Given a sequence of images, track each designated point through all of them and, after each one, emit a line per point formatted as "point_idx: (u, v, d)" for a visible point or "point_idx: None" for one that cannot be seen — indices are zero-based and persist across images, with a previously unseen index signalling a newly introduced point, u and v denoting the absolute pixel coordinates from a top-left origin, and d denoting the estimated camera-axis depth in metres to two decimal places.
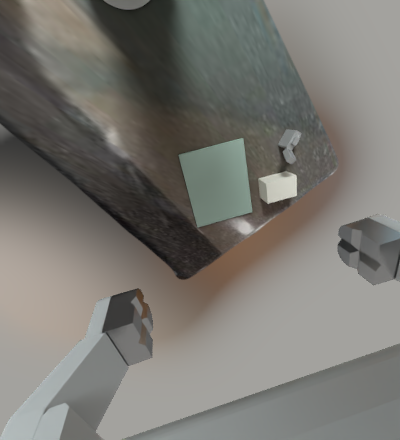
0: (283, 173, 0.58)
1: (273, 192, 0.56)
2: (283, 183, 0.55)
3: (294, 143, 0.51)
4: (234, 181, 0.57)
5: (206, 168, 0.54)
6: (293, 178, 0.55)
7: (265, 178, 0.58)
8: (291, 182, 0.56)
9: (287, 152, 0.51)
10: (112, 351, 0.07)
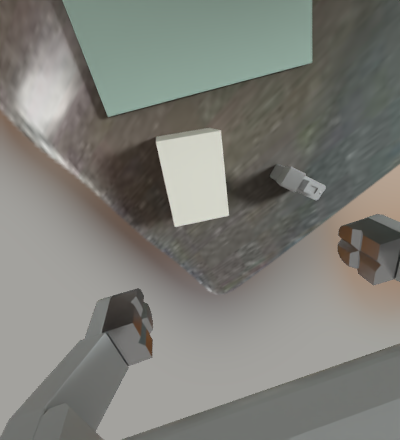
0: None
1: (191, 156, 0.19)
2: (213, 184, 0.20)
3: (308, 186, 0.22)
4: (204, 38, 0.19)
5: None
6: (222, 209, 0.22)
7: None
8: (212, 206, 0.21)
9: None
10: (112, 351, 0.07)
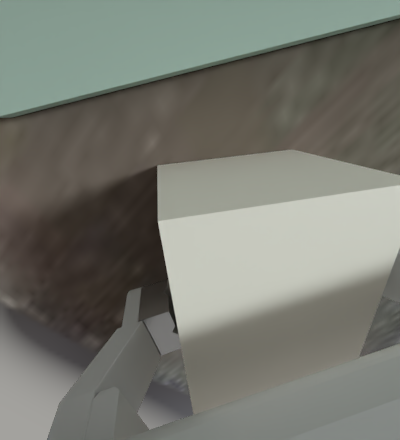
0: None
1: (292, 269, 0.05)
2: (332, 336, 0.06)
3: None
4: None
5: None
6: None
7: None
8: None
9: None
10: (148, 339, 0.07)
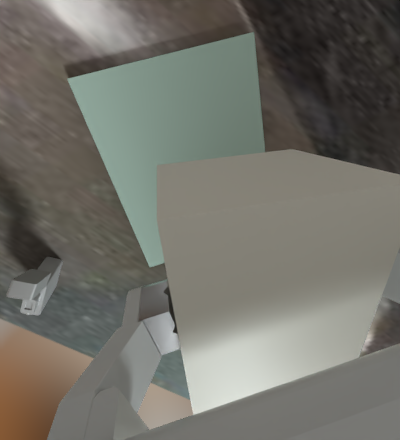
0: None
1: (292, 269, 0.05)
2: (332, 336, 0.06)
3: (30, 301, 0.21)
4: (153, 183, 0.23)
5: None
6: None
7: None
8: None
9: (41, 288, 0.20)
10: (148, 339, 0.07)
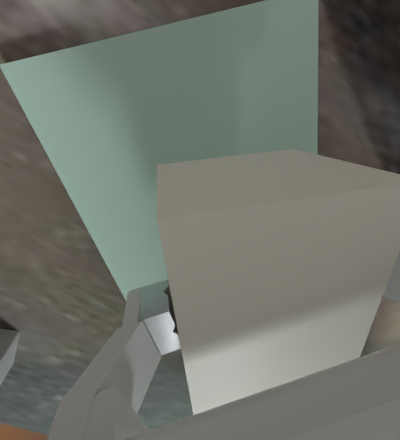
0: None
1: (293, 269, 0.05)
2: (334, 337, 0.06)
3: None
4: (149, 227, 0.15)
5: None
6: None
7: None
8: None
9: None
10: (148, 340, 0.07)
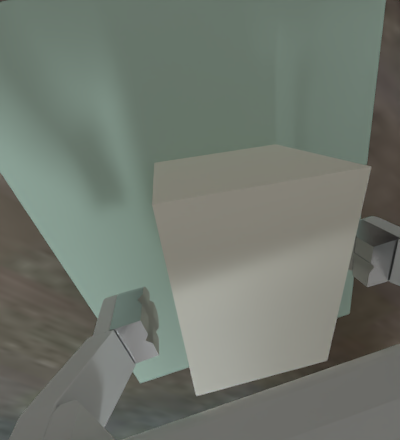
0: None
1: (266, 243, 0.06)
2: (309, 305, 0.07)
3: None
4: (144, 257, 0.11)
5: None
6: (316, 351, 0.09)
7: None
8: (296, 348, 0.08)
9: None
10: (120, 348, 0.07)
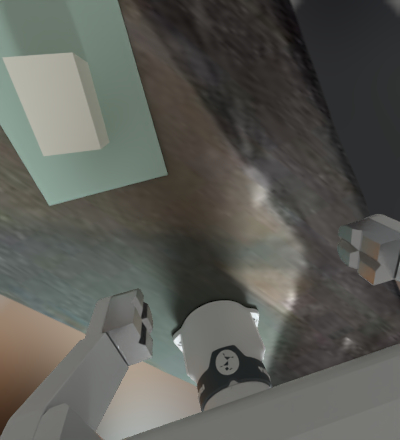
0: (104, 130, 0.25)
1: (46, 78, 0.19)
2: (76, 112, 0.21)
3: None
4: None
5: (111, 150, 0.27)
6: (92, 141, 0.22)
7: (88, 77, 0.23)
8: (81, 136, 0.22)
9: None
10: (112, 351, 0.07)
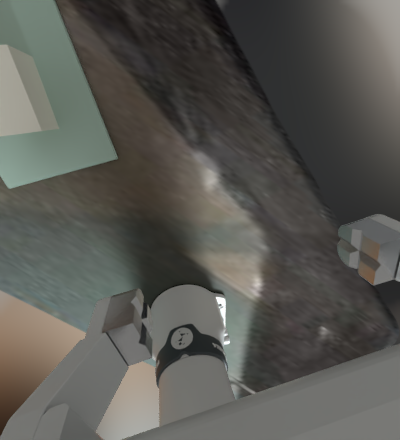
0: (51, 117, 0.28)
1: None
2: (16, 97, 0.24)
3: None
4: None
5: (62, 135, 0.30)
6: (33, 123, 0.25)
7: (31, 69, 0.26)
8: (22, 119, 0.25)
9: None
10: (112, 351, 0.07)
